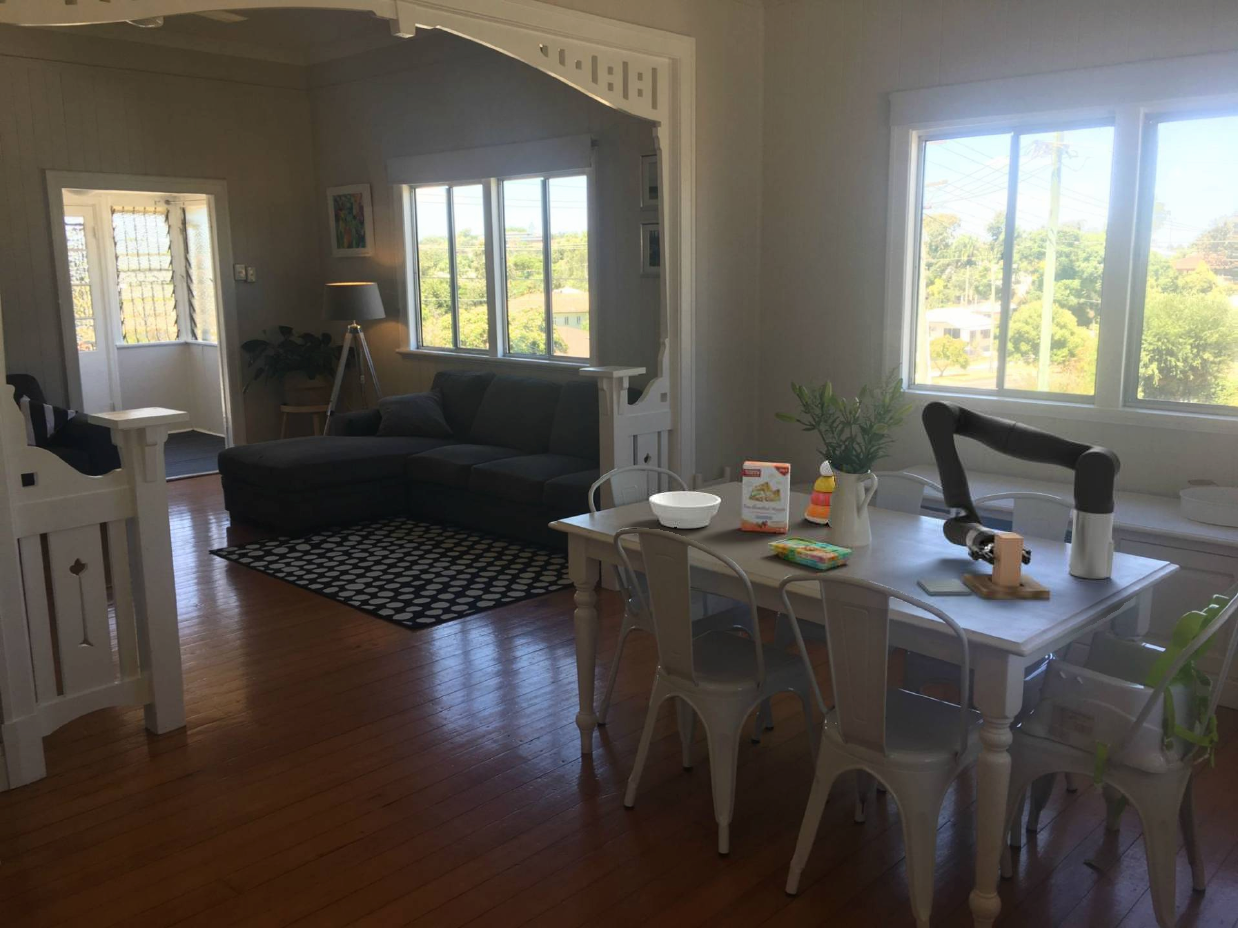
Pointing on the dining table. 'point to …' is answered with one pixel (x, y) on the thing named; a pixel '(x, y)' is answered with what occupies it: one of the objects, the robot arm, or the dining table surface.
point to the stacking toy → (821, 496)
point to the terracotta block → (1007, 559)
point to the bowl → (684, 508)
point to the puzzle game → (810, 552)
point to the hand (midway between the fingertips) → (1010, 560)
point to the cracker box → (765, 497)
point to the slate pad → (943, 587)
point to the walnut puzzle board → (1006, 588)
